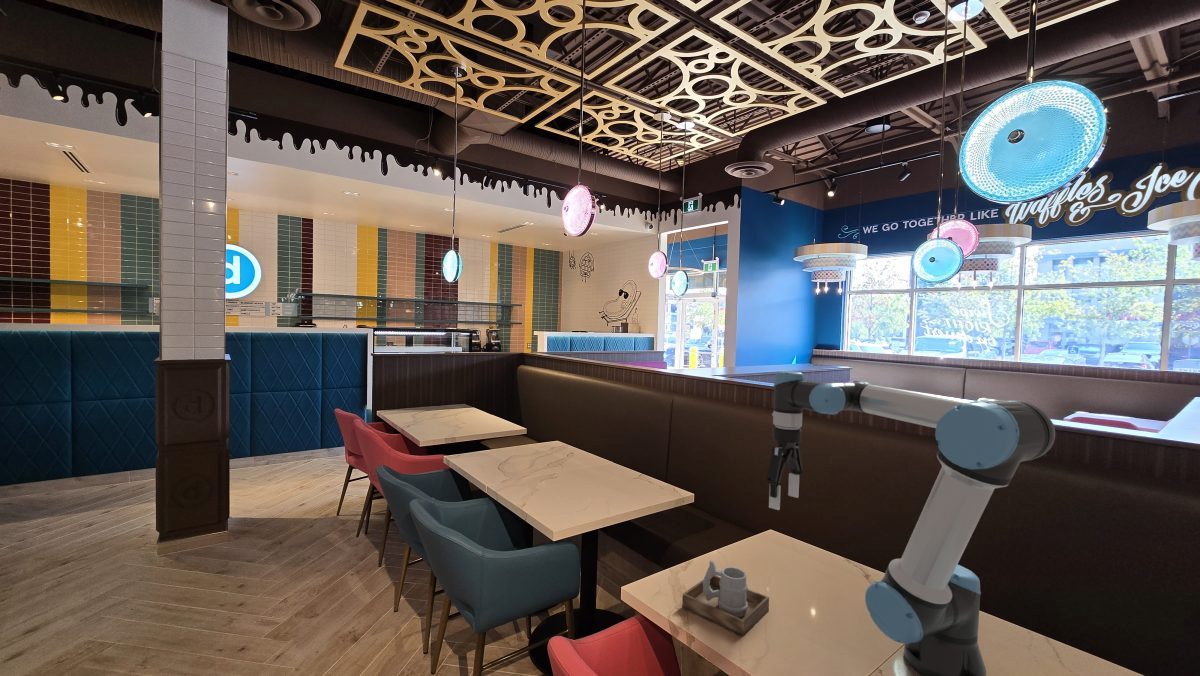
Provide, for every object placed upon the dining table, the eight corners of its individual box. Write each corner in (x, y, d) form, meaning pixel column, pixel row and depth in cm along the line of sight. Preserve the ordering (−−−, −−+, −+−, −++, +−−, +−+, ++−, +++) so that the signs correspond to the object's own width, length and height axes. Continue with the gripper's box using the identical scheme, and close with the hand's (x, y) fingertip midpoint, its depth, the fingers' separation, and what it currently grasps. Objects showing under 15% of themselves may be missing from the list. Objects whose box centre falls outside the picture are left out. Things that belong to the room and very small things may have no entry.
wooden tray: (768, 611, 130) (769, 597, 130) (742, 637, 119) (743, 621, 118) (710, 586, 141) (711, 573, 141) (682, 608, 130) (682, 594, 130)
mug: (746, 621, 124) (748, 574, 123) (699, 610, 128) (701, 565, 127) (748, 605, 131) (750, 561, 131) (703, 595, 135) (705, 552, 135)
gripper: (790, 419, 148) (787, 488, 148) (754, 430, 129) (751, 510, 130) (816, 423, 143) (813, 495, 143) (782, 435, 124) (779, 518, 125)
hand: (784, 502), depth 137 cm, fingers open, 13 cm apart
